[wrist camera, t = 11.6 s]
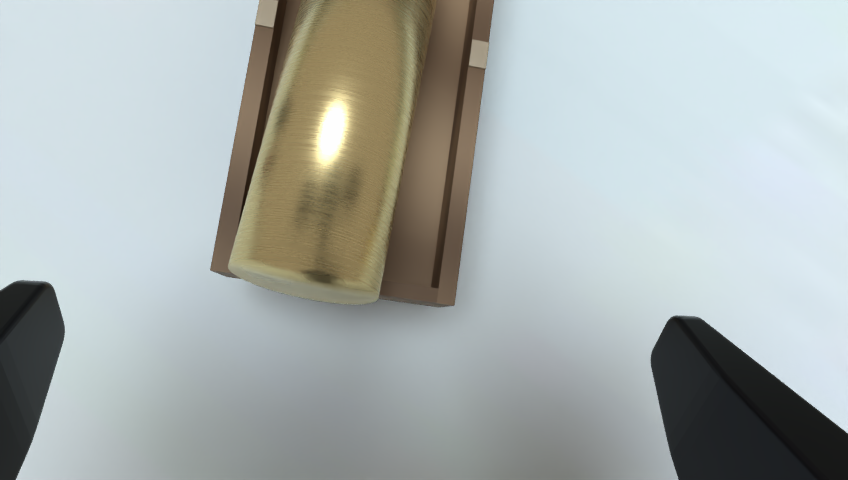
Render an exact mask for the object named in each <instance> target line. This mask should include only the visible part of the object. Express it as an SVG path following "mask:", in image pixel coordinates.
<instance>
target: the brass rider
mask: <svg viewBox="0 0 848 480" xmlns="http://www.w3.org/2000/svg"><path fill="white" fill-rule="evenodd" d="M436 3H437V0H301V3H300V6H299V10H298V13H297V17H296V21H295V24H294V28H293V32H292V35H291V39H290V42H289V46H288V50H287V53H286V57H285V61H284V64H283V68H282V71H281V75H280V79H279V82H278V86H277V90H276V93H275V97H274V100H273V104H272V108H271V111H270V115H269V119H268V122H267V126H266V129H265V133H264V137H263V140H262V144H261V148H260V151H259V155H258V158H257V162H256V166H255V169H254V173H253V177H252V180H251V184H250V187H249V191H248V195H247V198H246V202H245V206H244V209H243V213H242V216H241V220H240V224H239V227H238V231H237V235H236V238H235V242H234V246H233V249H232V253H231V256H230V260H229V264H228V269H229V270H230V271H231V272H232V273H233V274H234V275H236V276H238V277H239V278H241V279H243V280H245V281H248V282H250V283H252V284H255V285H258V286H260V287H263V288H266V289H269V290H273V291H276V292H280V293H283V294H287V295H291V296H295V297H300V298H305V299H310V300H315V301H322V302H329V303H337V304H369V303H373V302H375V301H377V300H378V297H379V292H380V287H381V282H382V277H383V272H384V267H385V262H386V257H387V252H388V247H389V242H390V236H391V231H392V226H393V221H394V216H395V211H396V206H397V201H398V196H399V191H400V186H401V181H402V175H403V170H404V165H405V160H406V155H407V150H408V145H409V140H410V135H411V130H412V125H413V120H414V114H415V109H416V104H417V99H418V94H419V89H420V84H421V79H422V74H423V69H424V64H425V59H426V53H427V48H428V43H429V38H430V33H431V28H432V23H433V18H434V13H435V8H436Z"/></svg>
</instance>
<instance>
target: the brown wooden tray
mask: <svg viewBox="0 0 848 480" xmlns="http://www.w3.org/2000/svg"><path fill="white" fill-rule="evenodd" d="M300 3H301V0H259V5H258V11H257V16H256V21H255V31H254V36H253V42H252V47H251V52H250V58H249V63H248V69H247V74H246V79H245V85H244V90H243V96H242V101H241V106H240V112H239V117H238V123H237V128H236V133H235V139H234V144H233V150H232V155H231V160H230V166H229V171H228V177H227V182H226V187H225V193H224V198H223V204H222V209H221V214H220V220H219V225H218V231H217V236H216V241H215V247H214V252H213V258H212V263H211V269H210V270H211V271H213V272H216V273H218V274H221V275H224V276H226V277H232V278H239V277H238V276H236V275H234V274H233V273H232V272H231V271H230V270H229V269H228V264H229V260H230V256H231V253H232V249H233V246H234V242H235V238H236V235H237V231H238V227H239V224H240V220H241V216H242V213H243V209H244V206H245V202H246V198H247V195H248V191H249V187H250V184H251V180H252V177H253V173H254V169H255V166H256V162H257V158H258V155H259V151H260V148H261V144H262V140H263V137H264V133H265V129H266V126H267V122H268V119H269V115H270V111H271V108H272V104H273V100H274V97H275V93H276V90H277V86H278V82H279V79H280V75H281V71H282V68H283V64H284V61H285V57H286V53H287V50H288V46H289V42H290V39H291V35H292V32H293V28H294V24H295V21H296V17H297V13H298V10H299V6H300ZM493 4H494V0H437V3H436V8H435V13H434V18H433V23H432V28H431V33H430V38H429V43H428V48H427V53H426V59H425V64H424V69H423V74H422V79H421V84H420V89H419V94H418V99H417V104H416V109H415V114H414V120H413V125H412V130H411V135H410V140H409V145H408V150H407V155H406V160H405V165H404V170H403V175H402V181H401V186H400V191H399V196H398V201H397V206H396V211H395V216H394V221H393V226H392V231H391V236H390V242H389V247H388V252H387V257H386V262H385V267H384V272H383V277H382V282H381V287H380V292H379V297H378V299H385V300H392V301H399V302H406V303H413V304H420V305H427V306H434V307H445V306H454V305H455V297H456V289H457V281H458V274H459V266H460V258H461V251H462V243H463V235H464V228H465V220H466V212H467V204H468V197H469V189H470V181H471V174H472V166H473V158H474V151H475V143H476V135H477V127H478V120H479V112H480V104H481V97H482V89H483V81H484V74H485V69H486V63H487V55H488V48H489V35H490V27H491V20H492V12H493ZM239 279H241V278H239Z"/></svg>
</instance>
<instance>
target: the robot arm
mask: <svg viewBox="0 0 848 480" xmlns="http://www.w3.org/2000/svg"><path fill="white" fill-rule="evenodd" d="M64 335H65V326H64V321H63V318H62V314H61V311H60V307H59V304H58V301H57V297H56V294H55V290H54V288H53V286H52V285H51V284H50V283H48V282H43V281H25V280H21V281H16V282H13V283H11V284H10V285H8V286H6V287H5V288H3V289H2V290H0V480H16V478H17V475H18V473H19V471H20V469H21V466H22V464H23V462H24V460H25V457H26V455H27V452H28V450H29V448H30V445H31V443H32V440H33V437H34V434H35V431H36V428H37V425H38V422H39V419H40V416H41V412H42V409H43V406H44V403H45V399H46V396H47V393H48V390H49V386H50V383H51V380H52V377H53V373H54V370H55V367H56V364H57V360H58V357H59V354H60V351H61V347H62V344H63V340H64ZM651 368H652V372H653V377H654V382H655V386H656V391H657V395H658V400H659V405H660V409H661V414H662V418H663V423H664V428H665V432H666V437H667V441H668V445H669V449H670V453H671V457H672V460H673V463H674V466H675V470H676V473H677V476H678V479H679V480H848V433H846V432H845V431H844V430H843V429H841V428H840V427H839V426H838V425H836V424H835V423H834V422H832V421H831V420H830V419H829V418H827V417H826V416H825V415H823V414H822V413H821V412H820V411H818V410H817V409H816V408H815V407H813V406H812V405H811V404H809V403H808V402H807V401H806V400H804V399H803V398H802V397H801V396H799V395H798V394H797V393H795V392H794V391H793V390H792V389H790V388H789V387H788V386H787V385H785V384H784V383H783V382H781V381H780V380H779V379H778V378H776V377H775V376H774V375H772V374H771V373H770V372H769V371H767V370H766V369H765V368H764V367H762V366H761V365H760V364H758V363H757V362H756V361H755V360H753V359H752V358H751V357H750V356H748V355H747V354H746V353H744V352H743V351H742V350H741V349H739V348H738V347H737V346H735V345H734V344H733V343H732V342H730V341H729V340H728V339H727V338H725V337H724V336H723V335H721V334H720V333H719V332H718V331H716V330H715V329H714V328H713V327H711V326H710V325H709V324H707V323H706V322H705V321H704V320H702V319H701V318H698V317H695V316H673V317H671V318H670V319H669V320H668V321H667V323H666V325H665V327H664V329H663V331H662V333H661V335H660V337H659V339H658V341H657V342H656V344H655V346H654V348H653V351H652V354H651Z"/></svg>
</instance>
